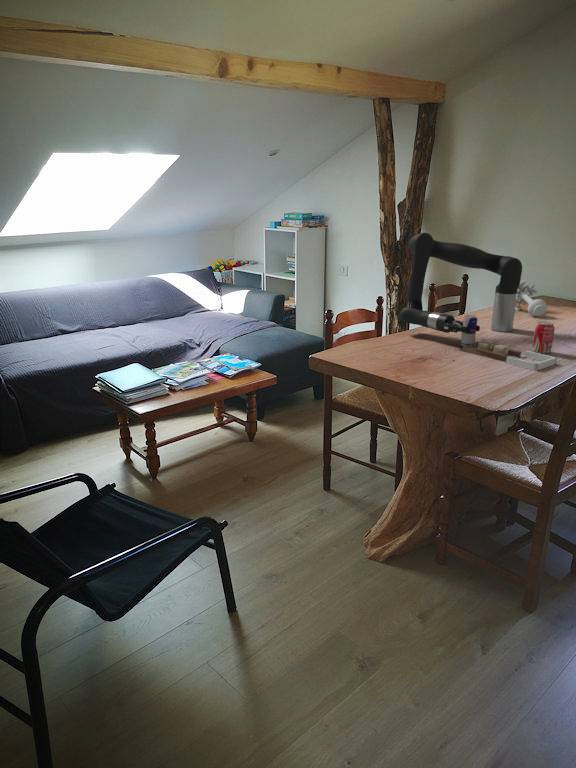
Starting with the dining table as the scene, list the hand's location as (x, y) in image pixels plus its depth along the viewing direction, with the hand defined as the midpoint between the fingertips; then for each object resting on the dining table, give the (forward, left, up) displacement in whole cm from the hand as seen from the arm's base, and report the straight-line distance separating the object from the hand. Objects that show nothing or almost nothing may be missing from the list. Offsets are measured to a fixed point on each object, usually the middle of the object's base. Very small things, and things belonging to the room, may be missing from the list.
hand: (474, 329), depth 227 cm
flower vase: (-84, -25, -8) cm, 88 cm away
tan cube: (0, +6, -8) cm, 10 cm away
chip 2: (0, +13, -8) cm, 15 cm away
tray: (0, +26, -8) cm, 27 cm away
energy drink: (0, -3, -7) cm, 8 cm away
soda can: (-18, +20, -8) cm, 28 cm away
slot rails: (0, +9, -8) cm, 12 cm away
